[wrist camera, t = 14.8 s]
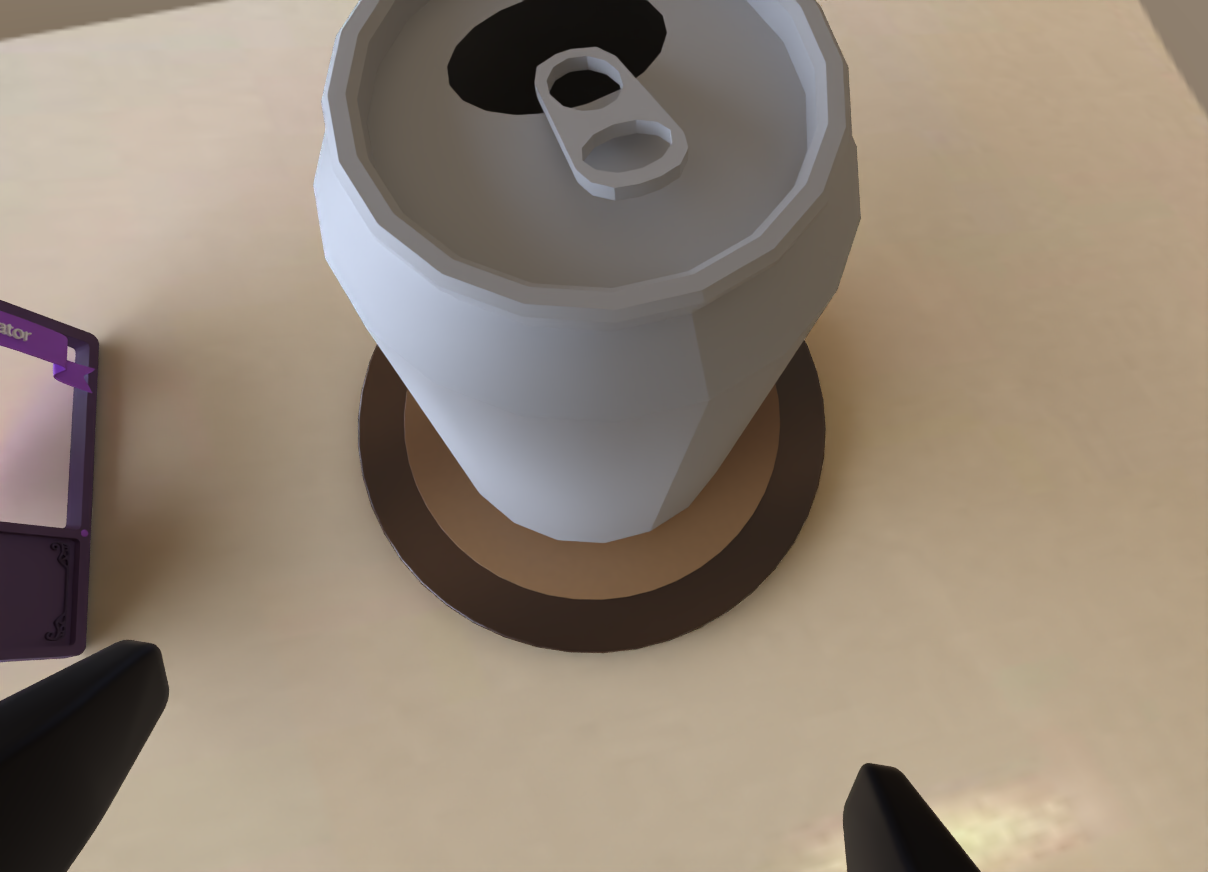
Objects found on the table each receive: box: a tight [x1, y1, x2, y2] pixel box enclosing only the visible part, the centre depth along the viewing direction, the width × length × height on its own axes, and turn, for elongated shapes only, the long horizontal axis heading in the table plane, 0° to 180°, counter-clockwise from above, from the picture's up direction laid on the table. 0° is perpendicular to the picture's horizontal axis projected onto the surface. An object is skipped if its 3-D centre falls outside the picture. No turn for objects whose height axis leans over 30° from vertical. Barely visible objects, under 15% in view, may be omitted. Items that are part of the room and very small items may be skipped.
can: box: [313, 0, 861, 543], centre depth 14 cm, size 8×8×12 cm
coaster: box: [358, 340, 826, 653], centre depth 20 cm, size 13×13×1 cm
